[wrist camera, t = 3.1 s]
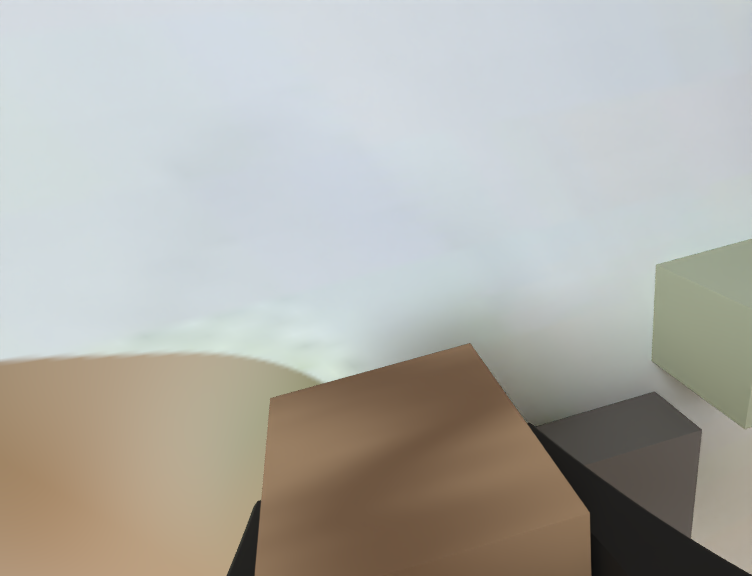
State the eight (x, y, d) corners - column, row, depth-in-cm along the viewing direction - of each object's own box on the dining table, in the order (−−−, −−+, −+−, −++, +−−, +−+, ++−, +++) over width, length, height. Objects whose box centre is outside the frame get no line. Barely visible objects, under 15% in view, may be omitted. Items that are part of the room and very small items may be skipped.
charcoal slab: (647, 385, 21) (701, 429, 18) (642, 534, 25) (685, 588, 22) (436, 448, 20) (458, 503, 17) (466, 589, 24) (488, 653, 21)
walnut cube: (469, 343, 10) (589, 512, 6) (491, 488, 12) (594, 693, 8) (270, 397, 10) (251, 615, 6) (323, 537, 12) (338, 778, 7)
